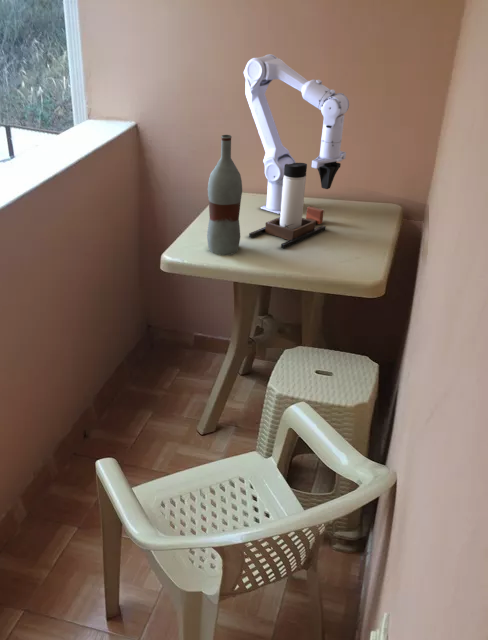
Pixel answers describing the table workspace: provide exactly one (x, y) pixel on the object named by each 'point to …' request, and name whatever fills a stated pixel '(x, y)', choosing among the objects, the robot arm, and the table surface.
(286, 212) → the travel mug
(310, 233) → the rails
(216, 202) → the bottle
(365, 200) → the table surface
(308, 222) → the carrier
